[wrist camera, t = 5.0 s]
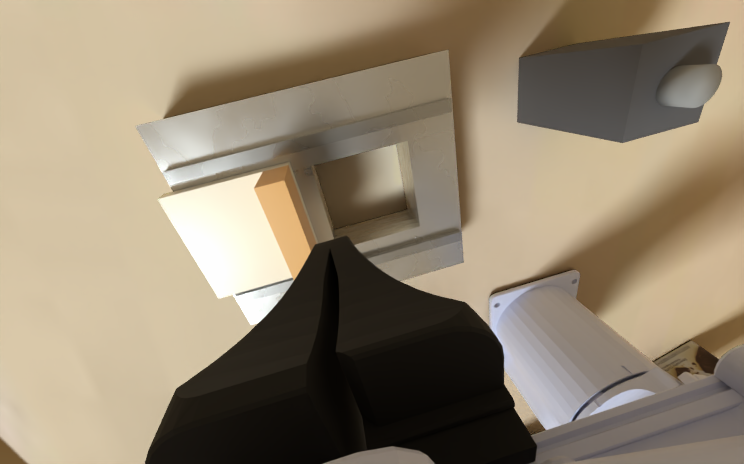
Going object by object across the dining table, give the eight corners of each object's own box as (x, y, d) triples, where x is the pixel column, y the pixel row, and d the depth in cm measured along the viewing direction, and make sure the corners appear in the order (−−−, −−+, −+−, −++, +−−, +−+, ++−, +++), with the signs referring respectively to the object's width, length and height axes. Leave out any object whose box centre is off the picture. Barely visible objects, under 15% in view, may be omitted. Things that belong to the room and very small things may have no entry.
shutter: (324, 261, 17) (327, 295, 14) (222, 290, 17) (204, 331, 14) (289, 161, 14) (284, 180, 11) (163, 193, 14) (127, 221, 11)
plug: (569, 108, 18) (728, 124, 11) (517, 122, 18) (646, 147, 11) (576, 43, 17) (767, 16, 10) (519, 57, 16) (673, 40, 9)
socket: (447, 243, 21) (466, 265, 19) (257, 297, 20) (249, 329, 18) (428, 54, 15) (452, 48, 13) (162, 119, 15) (129, 127, 12)
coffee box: (691, 337, 34) (965, 522, 20) (695, 362, 37) (937, 538, 23) (619, 379, 35) (827, 580, 21) (629, 400, 38) (817, 589, 24)
